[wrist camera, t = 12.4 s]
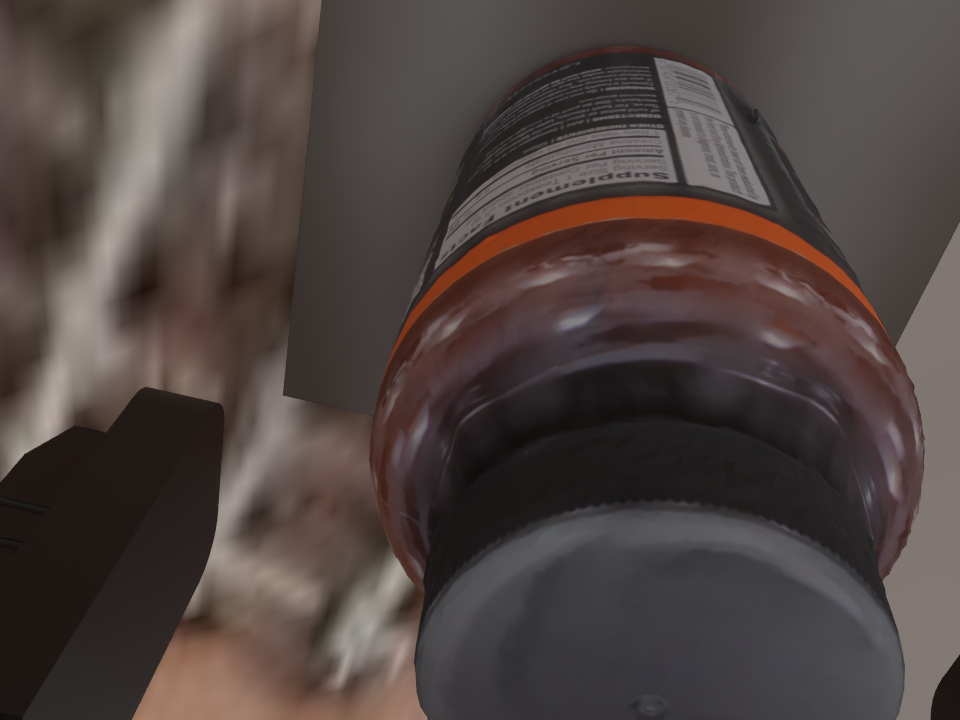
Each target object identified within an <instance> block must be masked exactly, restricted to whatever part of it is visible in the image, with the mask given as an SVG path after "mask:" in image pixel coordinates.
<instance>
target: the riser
mask: <svg viewBox="0 0 960 720" xmlns="http://www.w3.org/2000/svg"><path fill="white" fill-rule="evenodd" d="M613 46H639V47H649V48H654V49H657V50H663V51H667V52H672V53H675V54H678V55H681V56H683V57H686V58H688V59H691V60H693V61H695V62H698V63H700V64H702V65H703V66H705V67H708V68H710V69H712V70H714V71H715V72H717V73H718V74H719V75H721V76H722V77H723V78H724V79H726V80H727V81H729V82H730V83H732V84H733V85H734V86H735V87H736V88H737V89H738V90H739V91H740V92H741V93H742V94H743V95H744V96H745V97H746V98H747V100H748V101H749V102H750V103H751V104H752V106H753V107H754V108H755V109H758V111H759V112H760V113H761V115H762V116H763V118H764V119H765V121H766V122H767V124H768V125H769V127H770V129H771V130H772V132H773V133H774V135H775V137H776V139H777V142H778V143H779V145H780V147H781V148H782V150H783V151H784V152H785V154H786V156H787V157H788V159H789V162H790V163H791V165H792V167H793V169H794V170H795V172H796V174H797V176H798V177H799V179H800V181H801V183H802V185H803V187H804V188H805V190H806V192H807V194H808V195H809V197H810V199H811V200H812V202H813V203H814V204H815V206H816V207H817V209H818V211H819V213H820V215H821V217H822V219H823V221H824V223H825V225H826V227H827V228H828V229H829V231H830V232H831V234H832V236H833V238H834V240H835V242H836V243H837V245H838V247H839V248H840V250H841V251H842V253H843V255H844V256H845V258H846V260H847V262H848V264H849V266H850V267H851V268H852V270H853V271H854V272H855V273H856V276H857V278H858V281H859V283H860V286H861V288H862V290H863V292H864V294H865V296H866V297H867V299H868V301H869V303H870V304H871V306H872V307H873V309H874V310H875V312H876V313H877V314H878V316H879V317H880V318H881V320H882V322H883V325H884V327H885V330H886V332H887V334H888V336H889V338H890V339H891V341H892V343H893V344H894V346H896V344H897V342H898V340H899V338H900V336H901V335H902V333H903V331H904V329H905V327H906V325H907V323H908V321H909V319H910V317H911V315H912V313H913V311H914V309H915V308H916V306H917V304H918V302H919V300H920V298H921V296H922V294H923V292H924V290H925V288H926V286H927V284H928V282H929V280H930V279H931V277H932V275H933V273H934V271H935V269H936V267H937V265H938V263H939V261H940V259H941V257H942V255H943V253H944V251H945V249H946V248H947V245H948V243H949V242H950V240H951V238H952V236H953V234H954V232H955V230H956V228H957V226H958V224H959V222H960V0H322V3H321V14H320V24H319V34H318V44H317V54H316V65H315V75H314V85H313V95H312V105H311V115H310V126H309V136H308V146H307V156H306V166H305V176H304V187H303V197H302V207H301V217H300V227H299V237H298V248H297V258H296V268H295V278H294V288H293V298H292V309H291V319H290V329H289V339H288V349H287V360H286V370H285V380H284V390H283V396H288V397H292V398H297V399H301V400H305V401H310V402H314V403H319V404H323V405H328V406H332V407H337V408H341V409H345V410H350V411H354V412H359V413H363V414H368V415H372V416H374V414H375V407H376V401H377V397H378V394H379V390H380V387H381V384H382V381H383V377H384V374H385V371H386V368H387V365H388V362H389V359H390V356H391V352H392V349H393V346H394V344H395V341H396V338H397V336H398V333H399V331H400V328H401V325H402V322H403V320H404V317H405V314H406V311H407V309H408V306H409V303H410V300H411V297H412V294H413V292H414V289H415V286H416V283H417V280H418V278H419V274H420V271H421V269H422V266H423V264H424V261H425V258H426V255H427V253H428V250H429V247H430V245H431V242H432V239H433V237H434V234H435V231H436V229H437V226H438V223H439V221H440V218H441V215H442V212H443V209H444V206H445V204H446V201H447V198H448V196H449V193H450V190H451V188H452V185H453V182H454V180H455V177H456V174H457V171H458V168H459V165H460V163H461V160H462V158H463V156H464V154H465V152H466V150H467V148H468V147H469V145H470V143H471V142H472V140H473V138H474V136H475V134H476V132H477V130H478V128H479V127H480V125H481V124H482V123H483V121H484V120H485V118H486V116H487V115H488V113H489V111H490V110H491V109H492V108H493V106H494V105H495V104H496V103H497V102H498V101H499V100H501V99H502V98H503V97H504V96H505V95H506V94H507V93H508V92H509V91H510V90H511V89H512V88H513V87H514V86H516V85H517V84H519V83H520V82H521V81H522V80H523V79H525V78H526V77H528V76H530V75H531V74H533V73H534V72H536V71H537V70H539V69H541V68H542V67H544V66H546V65H548V64H550V63H552V62H554V61H557V60H559V59H562V58H564V57H567V56H570V55H573V54H575V53H579V52H583V51H588V50H592V49H597V48H602V47H613Z"/></svg>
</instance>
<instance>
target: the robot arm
mask: <svg viewBox="0 0 960 720" xmlns="http://www.w3.org/2000/svg"><path fill="white" fill-rule="evenodd" d="M223 431H224V411H223V407H222V405H221V404H220V403H215V402H211V401H207V400H202V399H198V398H193V397H189V396H184V395H180V394H176V393H171V392H167V391H162V390H158V389H153V388H149V387H144V388H142V389H141V390H139V391H138V392H137V393H136V394H135V396H134V397H133V398H132V399H131V401H130V402H129V403H128V405H127V406H126V407H125V409H124V410H123V411H122V413H121V414H120V415H119V417H118V418H117V419H116V421H115V422H114V423H113V425H112V426H111V427H110V429H109V430H108V431H107V433H106V432H101V431H97V430H92V429H88V428H83V427H79V426H73V427H72V428H70V429H68V430H66V431H65V432H63V433H61V434H59V435H58V436H56V437H54V438H52V439H50V440H49V441H47V442H45V443H43V444H42V445H40V446H38V447H36V448H35V449H33V450H31V451H29V452H28V453H26V454H24V455H23V457H22V458H21V459H20V460H19V461H18V463H17V464H16V465H15V466H14V467H13V468H12V470H11V471H10V472H9V473H8V474H7V475H6V477H5V478H4V479H3V480H2V481H1V482H0V720H132V718H133V716H134V714H135V712H136V710H137V708H138V706H139V704H140V702H141V700H142V698H143V696H144V694H145V691H146V689H147V687H148V685H149V683H150V681H151V679H152V677H153V675H154V673H155V671H156V669H157V667H158V665H159V663H160V661H161V659H162V657H163V655H164V653H165V651H166V649H167V647H168V645H169V643H170V641H171V639H172V637H173V634H174V632H175V630H176V628H177V626H178V624H179V622H180V620H181V618H182V616H183V614H184V612H185V610H186V608H187V606H188V604H189V602H190V600H191V598H192V596H193V594H194V592H195V590H196V588H197V586H198V584H199V581H200V579H201V577H202V575H203V572H204V570H205V567H206V564H207V561H208V558H209V555H210V551H211V548H212V544H213V540H214V536H215V531H216V525H217V517H218V503H219V489H220V474H221V460H222V445H223ZM931 720H960V655H959V657H958V658H957V659H956V660H955V662H954V663H953V665H952V666H951V667H950V669H949V670H948V671H947V673H946V674H945V675H944V677H943V678H942V680H941V681H940V683H939V685H938V687H937V689H936V691H935V694H934V697H933V702H932V707H931Z"/></svg>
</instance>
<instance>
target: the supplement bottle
mask: <svg viewBox="0 0 960 720" xmlns="http://www.w3.org/2000/svg"><path fill="white" fill-rule="evenodd" d="M924 452H925V450H924V435H923V429H922V421H921V414H920V410H919V406H918V402H917V398H916V396H915V394H914V385H913V383H912V381H911V379H910V378H909V377H908V375H907V371H906V367H905V365H904V363H903V361H902V359H901V358H900V356H899V354H898V352H897V350H896V348H895V346H894V344H893V343H892V341H891V339H890V338H889V336H888V334H887V332H886V330H885V327H884V325H883V322H882V320H881V318H880V317H879V316H878V314H877V313H876V312H875V310H874V309H873V307H872V306H871V304H870V303H869V301H868V299H867V297H866V296H865V294H864V292H863V290H862V288H861V286H860V283H859V281H858V278H857V276H856V273H855V272H854V271H853V270H852V268H851V267H850V266H849V264H848V262H847V260H846V258H845V256H844V255H843V253H842V251H841V250H840V248H839V247H838V245H837V243H836V242H835V240H834V238H833V236H832V234H831V232H830V231H829V229H828V228H827V227H826V225H825V223H824V221H823V219H822V217H821V215H820V213H819V211H818V209H817V207H816V206H815V204H814V203H813V202H812V200H811V199H810V197H809V195H808V194H807V192H806V190H805V188H804V187H803V185H802V183H801V181H800V179H799V177H798V176H797V174H796V172H795V170H794V169H793V167H792V165H791V163H790V162H789V159H788V157H787V156H786V154H785V152H784V151H783V150H782V148H781V147H780V145H779V143H778V142H777V139H776V137H775V135H774V133H773V132H772V130H771V129H770V127H769V125H768V124H767V122H766V121H765V119H764V118H763V116H762V115H761V113H760V112H759V111H758V109H755V108H754V107H753V106H752V104H751V103H750V102H749V101H748V100H747V98H746V97H745V96H744V95H743V94H742V93H741V92H740V91H739V90H738V89H737V88H736V87H735V86H734V85H733V84H732V83H730V82H729V81H727V80H726V79H724V78H723V77H722V76H721V75H719V74H718V73H717V72H715V71H714V70H712V69H710V68H708V67H705V66H703V65H702V64H700V63H698V62H695V61H693V60H691V59H688V58H686V57H683V56H681V55H678V54H675V53H672V52H667V51H663V50H657V49H654V48H649V47H639V46H613V47H602V48H597V49H592V50H588V51H583V52H579V53H575V54H573V55H570V56H567V57H564V58H562V59H559V60H557V61H554V62H552V63H550V64H548V65H546V66H544V67H542V68H541V69H539V70H537V71H536V72H534V73H533V74H531V75H530V76H528V77H526V78H525V79H523V80H522V81H521V82H520V83H519V84H517V85H516V86H514V87H513V88H512V89H511V90H510V91H509V92H508V93H507V94H506V95H505V96H504V97H503V98H502V99H501V100H499V101H498V102H497V103H496V104H495V105H494V106H493V108H492V109H491V110H490V111H489V113H488V115H487V116H486V118H485V120H484V121H483V123H482V124H481V125H480V127H479V128H478V130H477V132H476V134H475V136H474V138H473V140H472V142H471V143H470V145H469V147H468V148H467V150H466V152H465V154H464V156H463V158H462V160H461V163H460V165H459V168H458V171H457V174H456V177H455V180H454V182H453V185H452V188H451V190H450V193H449V196H448V198H447V201H446V204H445V206H444V209H443V212H442V215H441V218H440V221H439V223H438V226H437V229H436V231H435V234H434V237H433V239H432V242H431V245H430V247H429V250H428V253H427V255H426V258H425V261H424V264H423V266H422V269H421V271H420V274H419V278H418V280H417V283H416V286H415V289H414V292H413V294H412V297H411V300H410V303H409V306H408V309H407V311H406V314H405V317H404V320H403V322H402V325H401V328H400V331H399V333H398V336H397V338H396V341H395V344H394V346H393V349H392V352H391V356H390V359H389V362H388V365H387V368H386V371H385V374H384V377H383V381H382V384H381V387H380V390H379V394H378V397H377V401H376V407H375V414H374V421H373V427H372V434H371V441H370V459H369V460H370V470H371V481H372V487H373V493H374V499H375V503H376V507H377V511H378V515H379V519H380V522H381V524H382V527H383V529H384V531H385V534H386V537H387V540H388V542H389V544H390V546H391V548H392V551H393V553H394V554H395V556H396V558H397V559H398V560H399V562H400V563H401V565H402V567H403V569H404V571H405V572H406V574H407V576H408V577H409V578H410V579H411V581H412V582H413V583H414V584H415V585H416V587H417V588H418V589H419V590H420V592H421V593H422V594H423V595H424V603H423V609H422V613H421V620H420V626H419V632H418V638H417V643H416V651H415V659H414V664H415V672H416V687H417V695H418V699H419V703H420V707H421V708H422V710H423V711H424V713H425V714H426V716H427V718H428V720H896V718H897V716H898V714H899V711H900V706H901V701H902V697H903V692H904V673H905V672H904V671H905V665H904V659H903V653H902V647H901V643H900V638H899V634H898V630H897V627H896V624H895V621H894V618H893V615H892V612H891V609H890V606H889V603H888V601H887V598H886V594H885V587H884V585H883V582H882V581H883V579H884V578H885V577H886V576H887V575H889V573H890V571H891V569H892V567H893V565H894V563H895V562H896V560H897V559H898V558H899V556H900V554H901V551H902V549H903V548H904V547H905V546H906V545H907V538H908V536H909V534H910V532H911V527H912V524H913V522H914V519H915V517H916V515H917V513H918V509H919V503H920V499H921V485H922V481H923V471H924Z"/></svg>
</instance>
